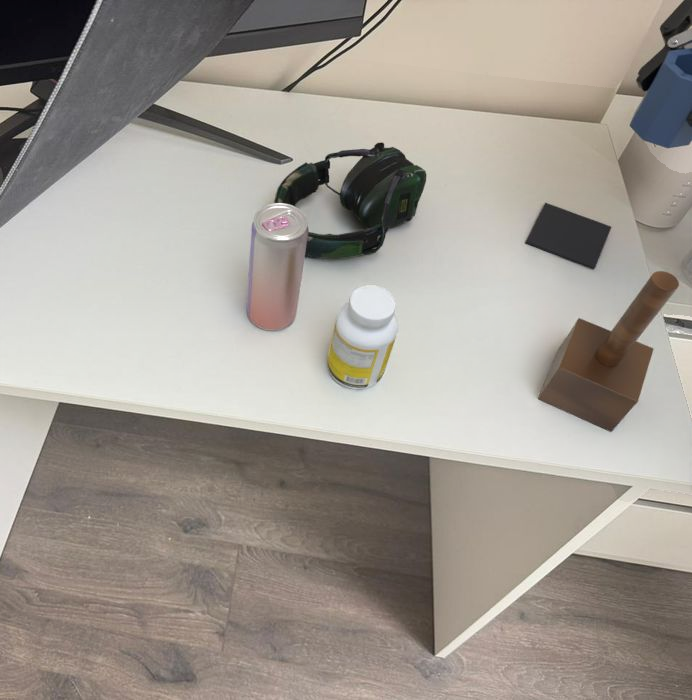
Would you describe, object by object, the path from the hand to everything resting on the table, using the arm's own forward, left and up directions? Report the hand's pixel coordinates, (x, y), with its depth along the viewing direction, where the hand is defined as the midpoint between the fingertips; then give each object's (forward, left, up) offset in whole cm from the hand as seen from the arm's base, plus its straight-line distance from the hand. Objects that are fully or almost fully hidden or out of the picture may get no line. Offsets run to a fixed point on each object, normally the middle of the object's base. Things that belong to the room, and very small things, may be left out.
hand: (665, 104), depth 69 cm
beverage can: (+29, +24, -26) cm, 45 cm away
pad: (+2, -9, -26) cm, 27 cm away
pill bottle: (+17, +26, -26) cm, 40 cm away
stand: (-7, +15, -26) cm, 30 cm away
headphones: (+28, +5, -26) cm, 38 cm away
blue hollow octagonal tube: (-1, -1, -3) cm, 4 cm away
